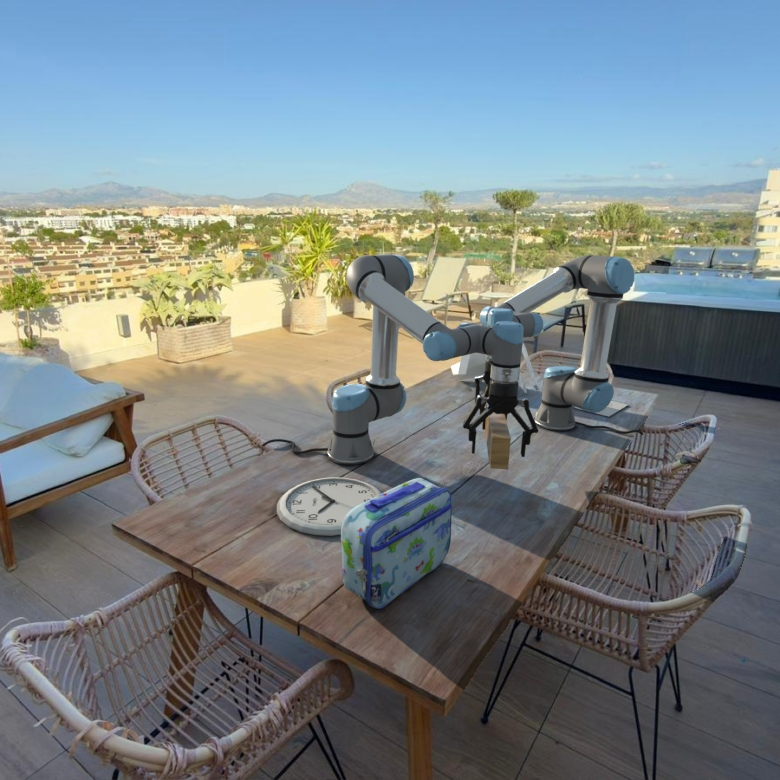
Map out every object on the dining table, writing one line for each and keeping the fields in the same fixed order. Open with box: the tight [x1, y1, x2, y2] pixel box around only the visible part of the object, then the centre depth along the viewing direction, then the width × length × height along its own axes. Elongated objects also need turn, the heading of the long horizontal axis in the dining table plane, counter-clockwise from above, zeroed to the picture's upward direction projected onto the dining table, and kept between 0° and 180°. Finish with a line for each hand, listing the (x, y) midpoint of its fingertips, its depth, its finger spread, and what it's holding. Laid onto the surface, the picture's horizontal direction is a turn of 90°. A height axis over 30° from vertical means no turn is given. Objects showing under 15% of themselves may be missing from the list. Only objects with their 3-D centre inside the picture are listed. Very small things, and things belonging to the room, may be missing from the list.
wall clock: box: [276, 476, 383, 537], centre depth 142 cm, size 30×2×30 cm
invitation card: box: [573, 400, 629, 418], centre depth 226 cm, size 21×1×15 cm
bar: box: [484, 402, 512, 470], centre depth 157 cm, size 33×5×9 cm, turn 173°
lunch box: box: [340, 477, 452, 610], centre depth 110 cm, size 26×11×21 cm, turn 134°
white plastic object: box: [450, 342, 540, 394], centre depth 253 cm, size 37×45×31 cm
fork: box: [437, 482, 448, 488], centre depth 145 cm, size 3×16×2 cm, turn 160°
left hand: (497, 453), depth 146 cm, fingers open, 13 cm apart
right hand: (492, 428), depth 170 cm, fingers closed on bar, 5 cm apart
